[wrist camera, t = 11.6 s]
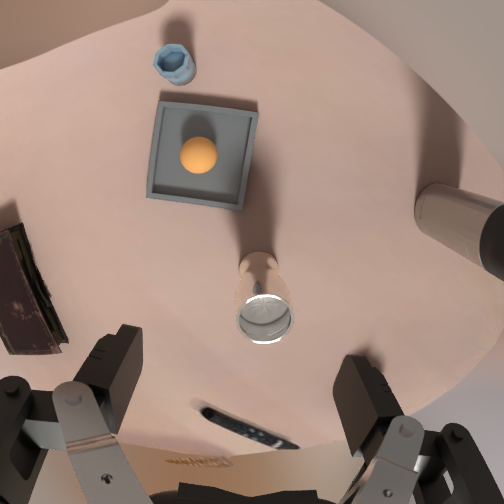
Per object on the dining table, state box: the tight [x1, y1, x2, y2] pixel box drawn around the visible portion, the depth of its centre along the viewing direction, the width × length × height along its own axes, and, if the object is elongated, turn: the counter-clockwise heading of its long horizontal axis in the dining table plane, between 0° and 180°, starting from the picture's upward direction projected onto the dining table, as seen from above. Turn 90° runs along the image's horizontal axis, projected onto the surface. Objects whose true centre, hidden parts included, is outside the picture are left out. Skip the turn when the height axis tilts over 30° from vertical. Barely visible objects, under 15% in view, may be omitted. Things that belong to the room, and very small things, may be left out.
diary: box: [0, 223, 69, 355], centre depth 47 cm, size 19×25×5 cm
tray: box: [146, 101, 259, 211], centre depth 42 cm, size 14×14×2 cm
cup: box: [153, 44, 196, 86], centre depth 35 cm, size 4×4×7 cm
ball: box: [180, 137, 217, 174], centre depth 40 cm, size 5×5×5 cm
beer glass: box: [235, 251, 294, 343], centre depth 42 cm, size 7×7×15 cm
